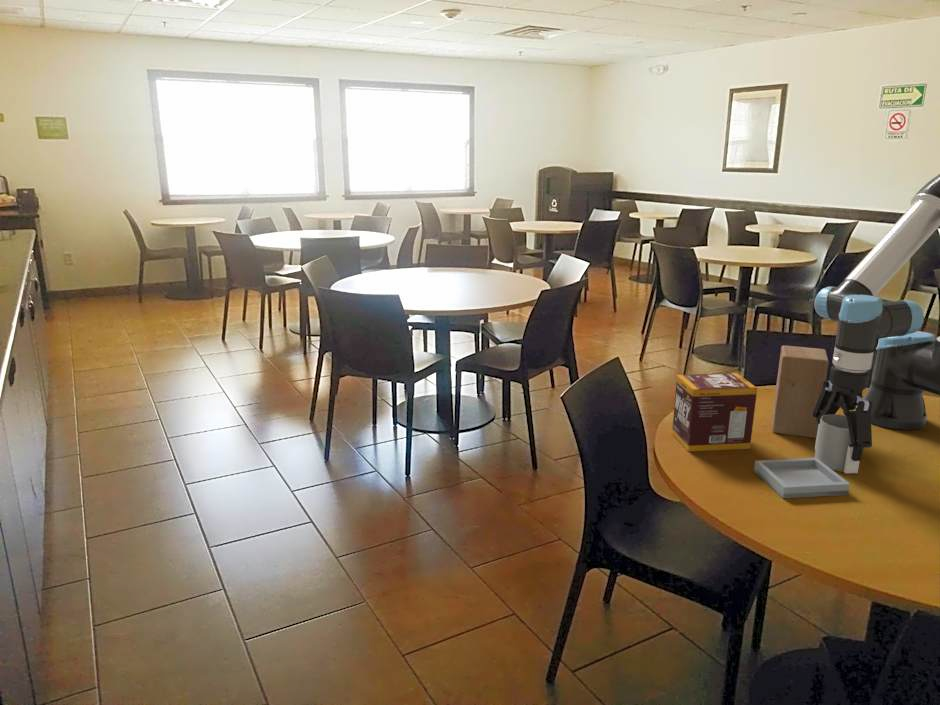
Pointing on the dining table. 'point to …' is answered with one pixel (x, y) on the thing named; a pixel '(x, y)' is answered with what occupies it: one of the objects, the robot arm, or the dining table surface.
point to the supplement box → (714, 411)
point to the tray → (801, 478)
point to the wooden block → (798, 390)
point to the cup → (833, 441)
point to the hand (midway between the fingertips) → (835, 460)
